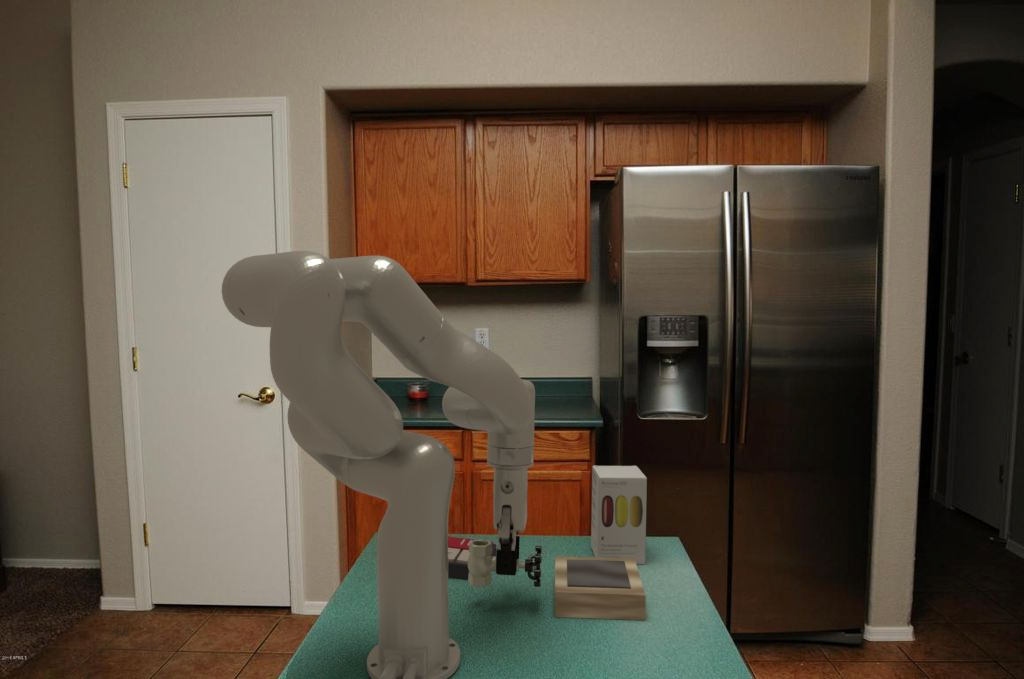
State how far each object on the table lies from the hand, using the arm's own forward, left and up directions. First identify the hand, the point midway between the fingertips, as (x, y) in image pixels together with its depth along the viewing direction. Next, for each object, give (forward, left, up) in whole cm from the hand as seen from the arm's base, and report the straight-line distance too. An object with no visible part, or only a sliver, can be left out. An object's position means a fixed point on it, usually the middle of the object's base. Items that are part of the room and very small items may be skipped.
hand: (507, 565), depth 99 cm
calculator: (+15, +12, -7) cm, 21 cm away
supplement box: (+22, -20, -7) cm, 30 cm away
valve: (0, +1, -3) cm, 3 cm away
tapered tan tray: (+4, -15, -7) cm, 17 cm away
